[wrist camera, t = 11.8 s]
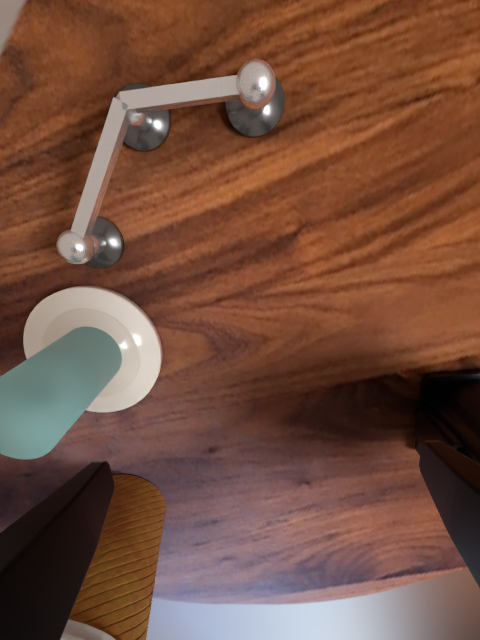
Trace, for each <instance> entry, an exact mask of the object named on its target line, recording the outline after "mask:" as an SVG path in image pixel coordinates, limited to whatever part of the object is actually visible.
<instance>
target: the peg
mask: <svg viewBox="0 0 480 640" xmlns="http://www.w3.org/2000/svg"><path fill="white" fill-rule="evenodd" d="M121 363H122V355H121V351H120V348H119V346H118V344H117V343H116V341H115V340H114V339H113V338H112V337H111V336H110V335H109V334H107V333H106V332H104V331H102V330H100V329H98V328H94V327H79V328H76V329H73V330H72V331H70V332H69V333H67V334H65V335H64V336H62V337H61V338H59V339H58V340H56V341H55V342H53V343H52V344H50V345H48V346H47V347H45V348H44V349H42V350H41V351H39V352H38V353H36V354H35V355H33V356H31V357H30V358H28V359H27V360H25V361H24V362H22V363H21V364H19V365H18V366H16V367H14V368H13V369H11V370H10V371H8V372H7V373H5V374H4V375H2V376H1V377H0V454H2V455H5V456H8V457H11V458H16V459H35V458H39V457H42V456H44V455H46V454H47V453H49V452H50V451H51V450H52V449H53V448H54V447H55V445H56V444H57V443H58V442H59V441H60V440H61V438H62V437H63V436H64V435H65V434H66V432H67V431H68V430H69V429H70V428H71V427H72V425H73V424H74V423H75V422H76V421H77V420H78V418H79V417H80V416H81V415H82V414H83V412H84V411H85V410H86V409H87V408H88V407H89V405H90V404H91V403H92V402H93V401H94V399H95V398H96V397H97V396H98V395H99V394H100V392H101V391H102V390H103V389H104V388H105V387H106V385H107V384H108V383H109V382H110V381H111V379H112V378H113V377H114V376H115V375H116V374H117V372H118V371H119V369H120V367H121Z"/></svg>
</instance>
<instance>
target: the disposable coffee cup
mask: <svg viewBox="0 0 480 640" xmlns="http://www.w3.org/2000/svg"><path fill="white" fill-rule="evenodd" d="M112 476H113V479H114V484H115V487H114V492H113V496H112V499H111V503H110V506H109V509H108V513H107V516H106V519H105V523H104V526H103V530H102V533H101V536H100V539H99V543H98V546H97V548H96V551H95V554H94V556H93V559H92V562H91V564H90V567H89V569H88V572H87V574H86V577H85V579H84V582H83V584H82V587H81V589H80V592H79V594H78V597H77V599H76V602H75V604H74V607H73V609H72V612H71V614H70V617H69V619H68V622H67V624H66V627H65V629H64V632H63V634H62V637H61V639H60V640H146V635H147V628H148V621H149V615H150V609H151V601H152V595H153V589H154V582H155V576H156V569H157V563H158V557H159V550H160V543H161V536H162V530H163V523H164V517H165V511H166V503H165V500H164V497H163V495H162V494H161V492H160V491H159V490H158V489H157V488H156V487H155V486H154V485H153V484H152V483H150V482H148V481H146V480H145V479H143V478H140V477H137V476H133V475H125V474H119V475H112Z"/></svg>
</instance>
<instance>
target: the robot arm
mask: <svg viewBox="0 0 480 640" xmlns="http://www.w3.org/2000/svg"><path fill="white" fill-rule="evenodd" d="M432 380H433V381H432ZM430 381H432V383H431V384H428V383H429V382H430ZM414 436H415V438H416V441H415V449H416V451H417V452H418V453H419V455H420V462H419V467H420V471H421V474H422V476H423V479H424V481H425V483H426V485H427V488H428V490H429V492H430V494H431V496H432V499H433V501H434V503H435V505H436V507H437V510H438V512H439V514H440V516H441V518H442V521H443V523H444V525H445V527H446V529H447V531H448V533H449V535H450V537H451V539H452V540H453V542H454V544H455V546H456V548H457V549H458V551H459V553H460V555H461V556H462V558H463V560H464V562H465V563H466V565H467V567H468V569H469V570H470V572H471V574H472V575H473V577H474V579H475V581H476V582H477V584H478V586H479V588H480V370H479V371H466V372H453V373H439V374H428V375H426V376H424V377H423V378H422V381H421V389H420V400H419V405H418V406H417V409H416V420H415V430H414ZM114 487H115V484H114V479H113V476H112V473H111V469H110V466H109V464H108V462H107V461H95V462H92V463H90V464H89V465H88V466H86V467H85V468H84V469H83V470H81V471H80V472H79V473H77V474H76V475H75V476H73V477H72V478H71V479H70V480H68V481H67V482H66V483H64V484H63V485H62V486H61V487H59V488H58V489H57V490H55V491H54V492H53V493H51V494H50V495H49V496H48V497H46V498H45V499H44V500H42V501H41V502H40V503H38V504H37V505H36V506H35V507H33V508H32V509H31V510H29V511H28V512H27V513H26V514H24V515H23V516H22V517H20V518H19V519H18V520H16V521H15V522H14V523H13V524H11V525H10V526H9V527H7V528H6V529H5V530H3V531H2V532H1V533H0V640H60V639H61V637H62V634H63V632H64V629H65V627H66V624H67V622H68V619H69V617H70V614H71V612H72V609H73V607H74V604H75V602H76V599H77V597H78V594H79V592H80V589H81V587H82V584H83V582H84V579H85V577H86V574H87V572H88V569H89V567H90V564H91V562H92V559H93V556H94V554H95V551H96V548H97V546H98V543H99V539H100V536H101V533H102V530H103V526H104V523H105V519H106V516H107V513H108V509H109V506H110V503H111V499H112V496H113V492H114Z"/></svg>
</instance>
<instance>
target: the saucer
mask: <svg viewBox="0 0 480 640" xmlns="http://www.w3.org/2000/svg"><path fill="white" fill-rule="evenodd" d="M79 327H94V328H98V329H100V330H102V331H104V332H106V333H107V334H109V335H110V336H111V337H112V338H113V339H114V340H115V341H116V343H117V344H118V346H119V348H120V351H121V355H122V363H121V367H120V369H119V371H118V372H117V374H116V375H115V376H114V377H113V378H112V379H111V381H110V382H109V383H108V384H107V385H106V387H105V388H104V389H103V390H102V391H101V392H100V394H99V395H98V396H97V397H96V398H95V399H94V401H93V402H92V403H91V404H90V405H89V407H88V408H87V409H86V410H87V411H92V412H114V411H119V410H123V409H126V408H128V407H131V406H132V405H134V404H136V403H138V402H139V401H140V400H141V399H143V398H144V397H145V396H146V395H147V394H148V393H149V391H150V390H151V388H152V387H153V385H154V383H155V382H156V380H157V378H158V376H159V373H160V370H161V366H162V358H163V352H162V344H161V341H160V337H159V334H158V332H157V330H156V328H155V326H154V324H153V323H152V321H151V319H150V318H149V317H148V316H147V314H146V313H145V312H144V311H143V310H142V309H141V308H140V307H139V306H138V305H137V304H135V303H134V302H133V301H132V300H130V299H129V298H127V297H125V296H124V295H122V294H120V293H118V292H116V291H113V290H110V289H107V288H103V287H99V286H90V285H85V286H74V287H70V288H66V289H63V290H61V291H58V292H56V293H54V294H52V295H50V296H48V297H46V298H45V299H43V300H42V301H41V302H40V303H39V304H38V305H37V306H36V307H35V308H34V309H33V311H32V312H31V313H30V315H29V317H28V319H27V322H26V325H25V328H24V335H23V345H24V351H25V355H26V358H27V359H28V358H30V357H31V356H33V355H35V354H36V353H38V352H39V351H41V350H42V349H44V348H45V347H47V346H48V345H50V344H52V343H53V342H55V341H56V340H58V339H59V338H61V337H62V336H64V335H65V334H67V333H69V332H70V331H72V330H73V329H76V328H79Z"/></svg>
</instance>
